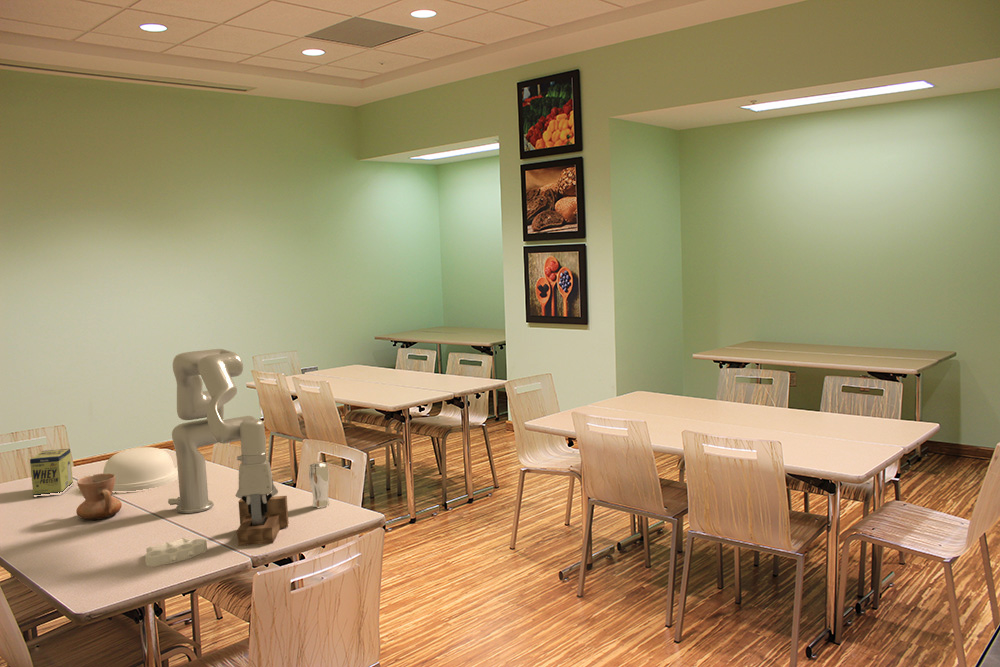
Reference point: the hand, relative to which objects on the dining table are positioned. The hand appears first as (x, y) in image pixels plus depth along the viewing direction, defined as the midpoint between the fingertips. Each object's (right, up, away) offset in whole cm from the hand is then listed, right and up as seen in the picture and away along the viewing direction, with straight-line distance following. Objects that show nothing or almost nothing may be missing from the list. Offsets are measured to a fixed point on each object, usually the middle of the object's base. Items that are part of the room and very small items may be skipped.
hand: (258, 514), depth 251 cm
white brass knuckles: (-21, -10, -13) cm, 27 cm away
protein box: (-102, -6, +65) cm, 121 cm away
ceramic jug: (-65, -8, +29) cm, 72 cm away
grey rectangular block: (0, -4, 0) cm, 5 cm away
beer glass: (+13, -4, +31) cm, 34 cm away
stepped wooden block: (0, -7, +2) cm, 8 cm away
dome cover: (-71, -4, +73) cm, 102 cm away
